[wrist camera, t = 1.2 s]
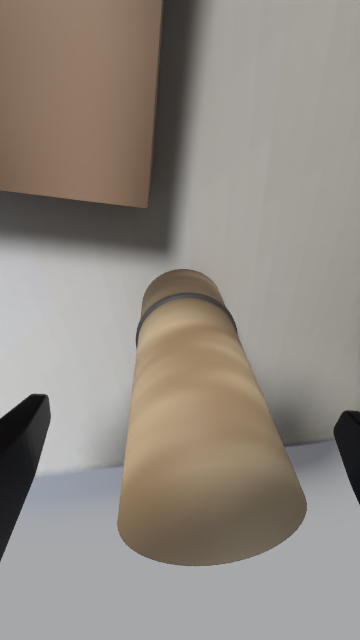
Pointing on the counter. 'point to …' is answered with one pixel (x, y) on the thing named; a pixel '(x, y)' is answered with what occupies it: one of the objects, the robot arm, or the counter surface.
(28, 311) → the counter surface
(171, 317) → the oak peg
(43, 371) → the counter surface
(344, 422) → the robot arm
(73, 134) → the walnut board
